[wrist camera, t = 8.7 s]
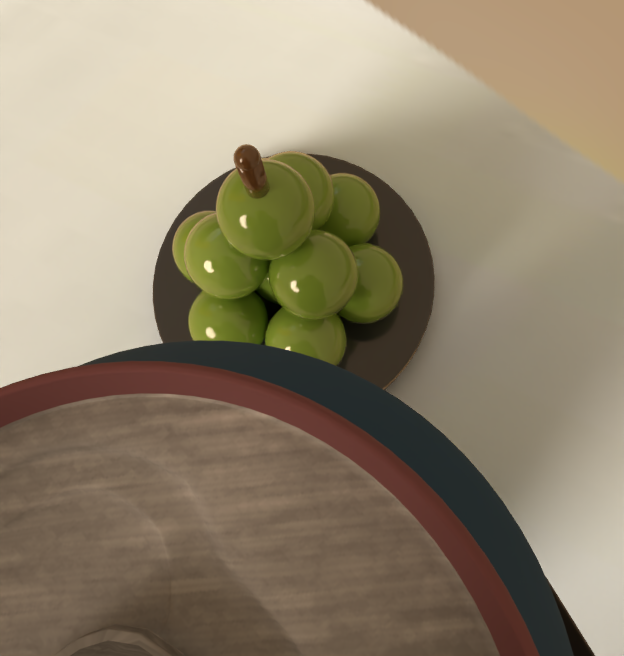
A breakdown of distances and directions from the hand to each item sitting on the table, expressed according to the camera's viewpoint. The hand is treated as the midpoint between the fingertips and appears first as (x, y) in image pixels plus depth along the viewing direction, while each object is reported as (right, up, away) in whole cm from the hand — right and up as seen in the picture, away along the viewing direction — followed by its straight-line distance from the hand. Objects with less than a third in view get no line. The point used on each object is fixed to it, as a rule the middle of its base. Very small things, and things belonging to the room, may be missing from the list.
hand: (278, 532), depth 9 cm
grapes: (0, +4, +9) cm, 10 cm away
